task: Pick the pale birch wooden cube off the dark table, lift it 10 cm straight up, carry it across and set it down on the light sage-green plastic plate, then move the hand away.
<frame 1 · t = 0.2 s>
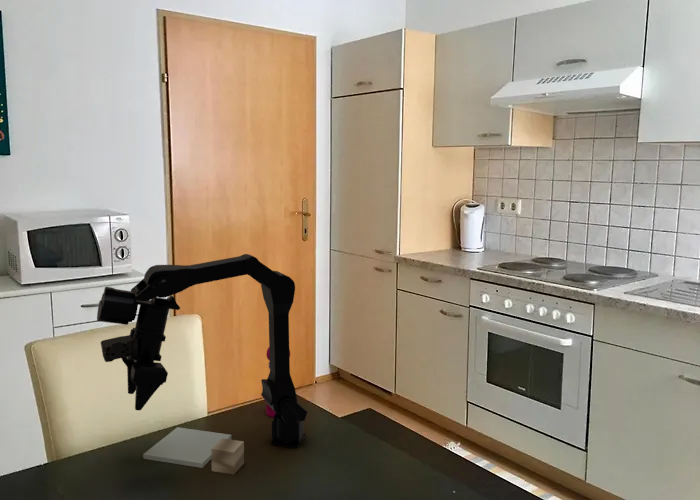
hand: (134, 401, 122), 15 cm above the table, tool pointing down, fingers open, 9 cm apart
sage plate: (188, 448, 134), on the table
pepper mill: (278, 413, 154), on the table
birch cube: (228, 467, 127), on the table
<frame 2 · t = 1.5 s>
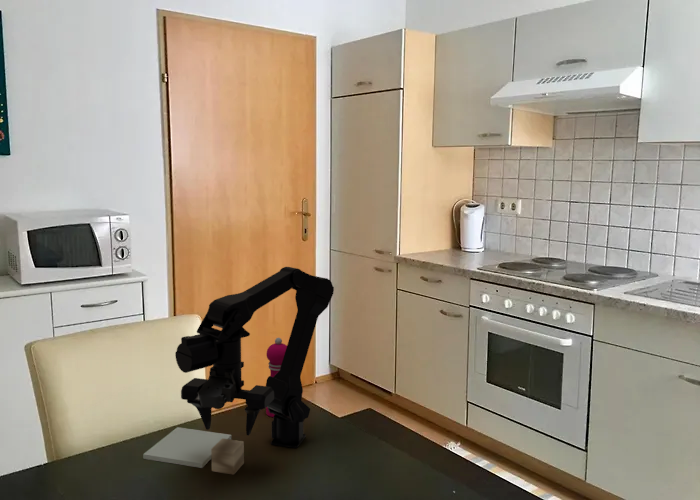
hand: (228, 431, 126), 8 cm above the table, tool pointing down, fingers open, 9 cm apart
nothing on the table moved.
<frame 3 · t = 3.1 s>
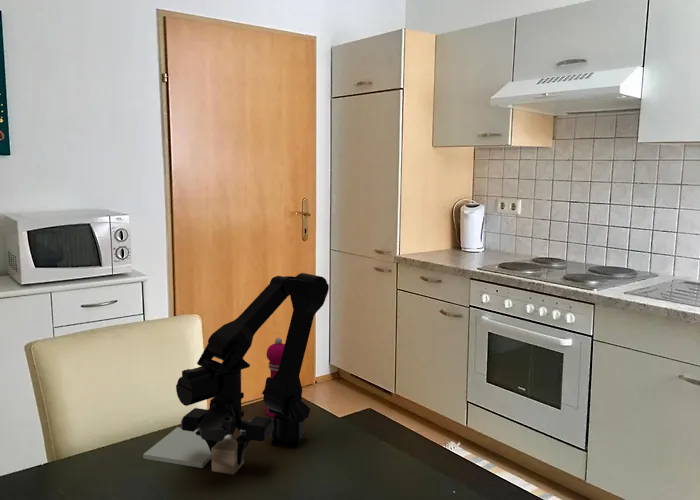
hand: (227, 462, 126), 1 cm above the table, tool pointing down, fingers closed on birch cube, 5 cm apart
birch cube: (228, 466, 127), on the table, touching gripper
everything else where it was.
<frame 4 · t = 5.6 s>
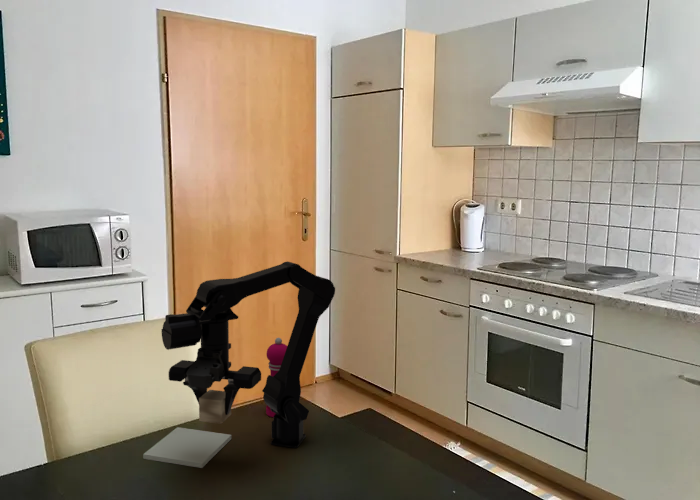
hand: (215, 412, 127), 11 cm above the table, tool pointing down, fingers closed on birch cube, 5 cm apart
birch cube: (215, 417, 127), point 10 cm above the table, touching gripper
everything else where it was.
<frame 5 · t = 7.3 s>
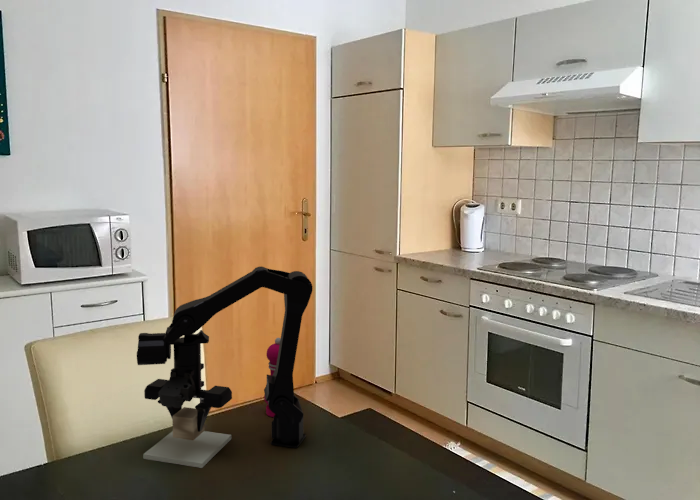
hand: (188, 429, 134), 4 cm above the table, tool pointing down, fingers closed on birch cube, 5 cm apart
birch cube: (188, 433, 134), point 3 cm above the table, touching gripper
everything else where it was.
when the fingers open (3 cm above the table, at t = 8.4 s): birch cube stays where it is, resting on sage plate.
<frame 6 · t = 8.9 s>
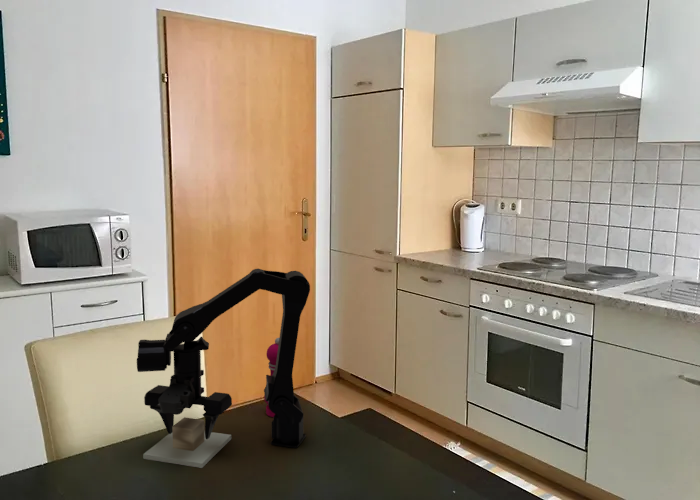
hand: (188, 435, 134), 3 cm above the table, tool pointing down, fingers open, 9 cm apart
birch cube: (188, 444, 134), point 1 cm above the table, touching sage plate
everything else where it was.
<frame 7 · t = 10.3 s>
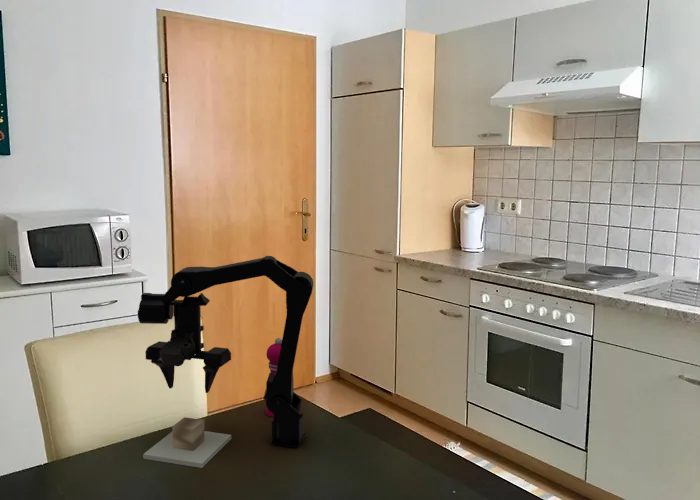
hand: (189, 390, 137), 12 cm above the table, tool pointing down, fingers open, 9 cm apart
nothing on the table moved.
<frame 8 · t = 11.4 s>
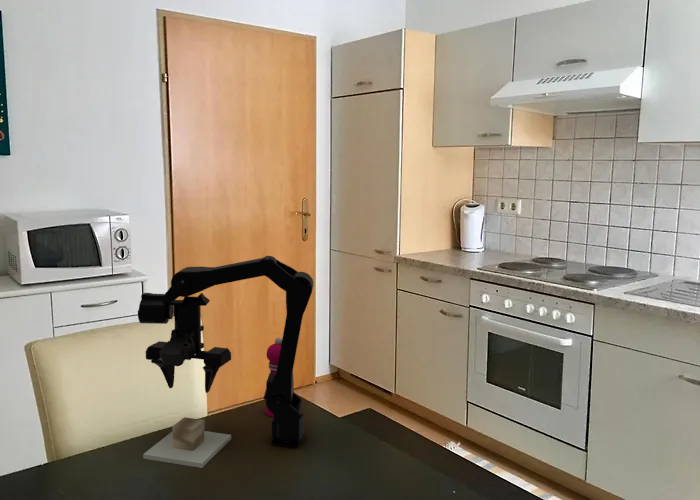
hand: (189, 390, 137), 12 cm above the table, tool pointing down, fingers open, 9 cm apart
nothing on the table moved.
at the end: birch cube inside the target area on the sage plate (0.1 cm from its centre), point 1.0 cm above the sage plate's base; birch cube tilted 0°; the gripper is holding nothing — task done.
